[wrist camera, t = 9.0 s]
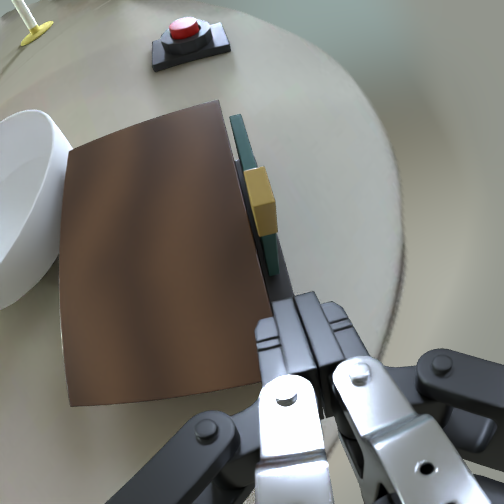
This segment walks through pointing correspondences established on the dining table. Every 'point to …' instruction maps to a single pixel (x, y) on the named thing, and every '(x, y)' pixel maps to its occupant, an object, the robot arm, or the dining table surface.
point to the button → (184, 28)
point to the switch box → (189, 46)
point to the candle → (30, 22)
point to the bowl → (29, 200)
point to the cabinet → (161, 264)
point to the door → (258, 195)
